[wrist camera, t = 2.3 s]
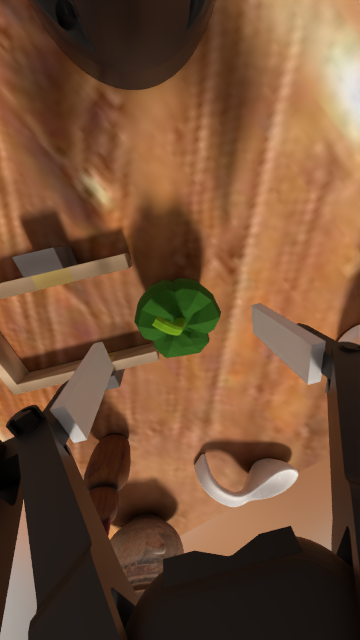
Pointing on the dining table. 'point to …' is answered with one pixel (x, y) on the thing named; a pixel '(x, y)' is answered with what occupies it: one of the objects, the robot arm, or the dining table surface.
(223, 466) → the dining table surface
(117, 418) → the dining table surface
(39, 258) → the tan wooden u-shaped frame
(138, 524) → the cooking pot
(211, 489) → the spoon rest
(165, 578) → the robot arm
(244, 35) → the dining table surface
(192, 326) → the bell pepper
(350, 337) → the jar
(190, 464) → the dining table surface
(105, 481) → the wooden figurine
